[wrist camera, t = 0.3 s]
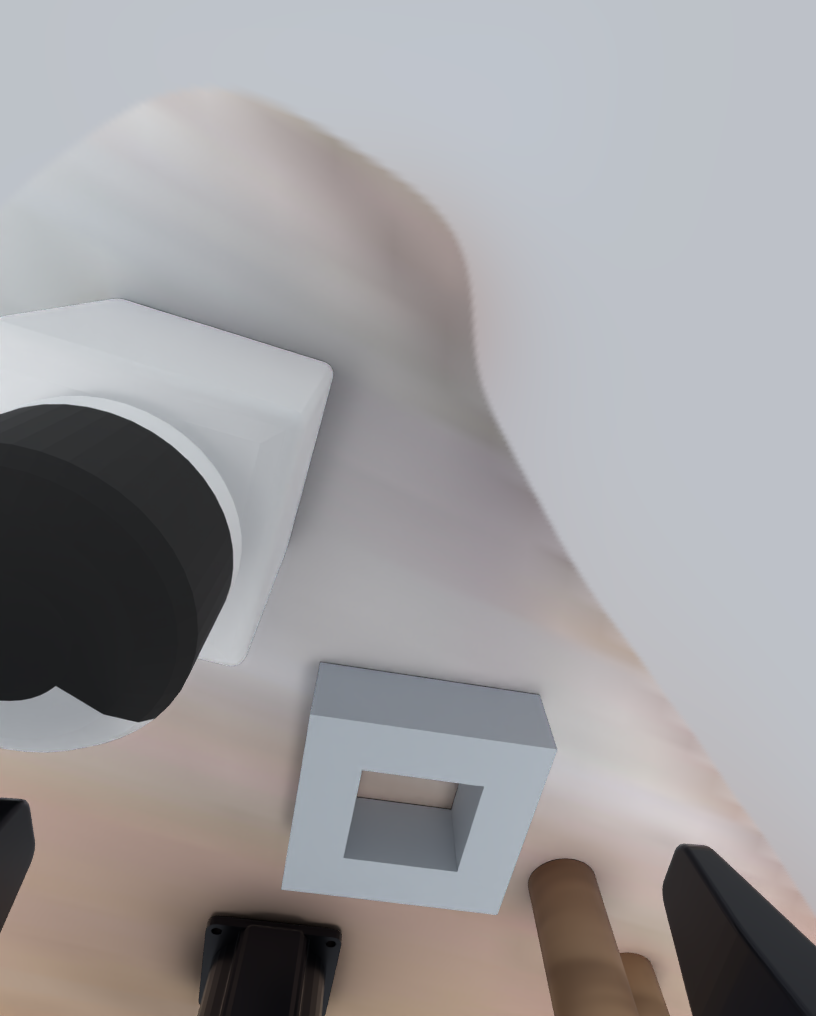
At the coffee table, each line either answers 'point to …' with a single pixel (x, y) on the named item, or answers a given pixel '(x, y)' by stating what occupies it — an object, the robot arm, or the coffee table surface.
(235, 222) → the coffee table surface
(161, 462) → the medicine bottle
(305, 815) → the collar block
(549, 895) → the long dowel
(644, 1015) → the short stub
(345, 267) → the coffee table surface
